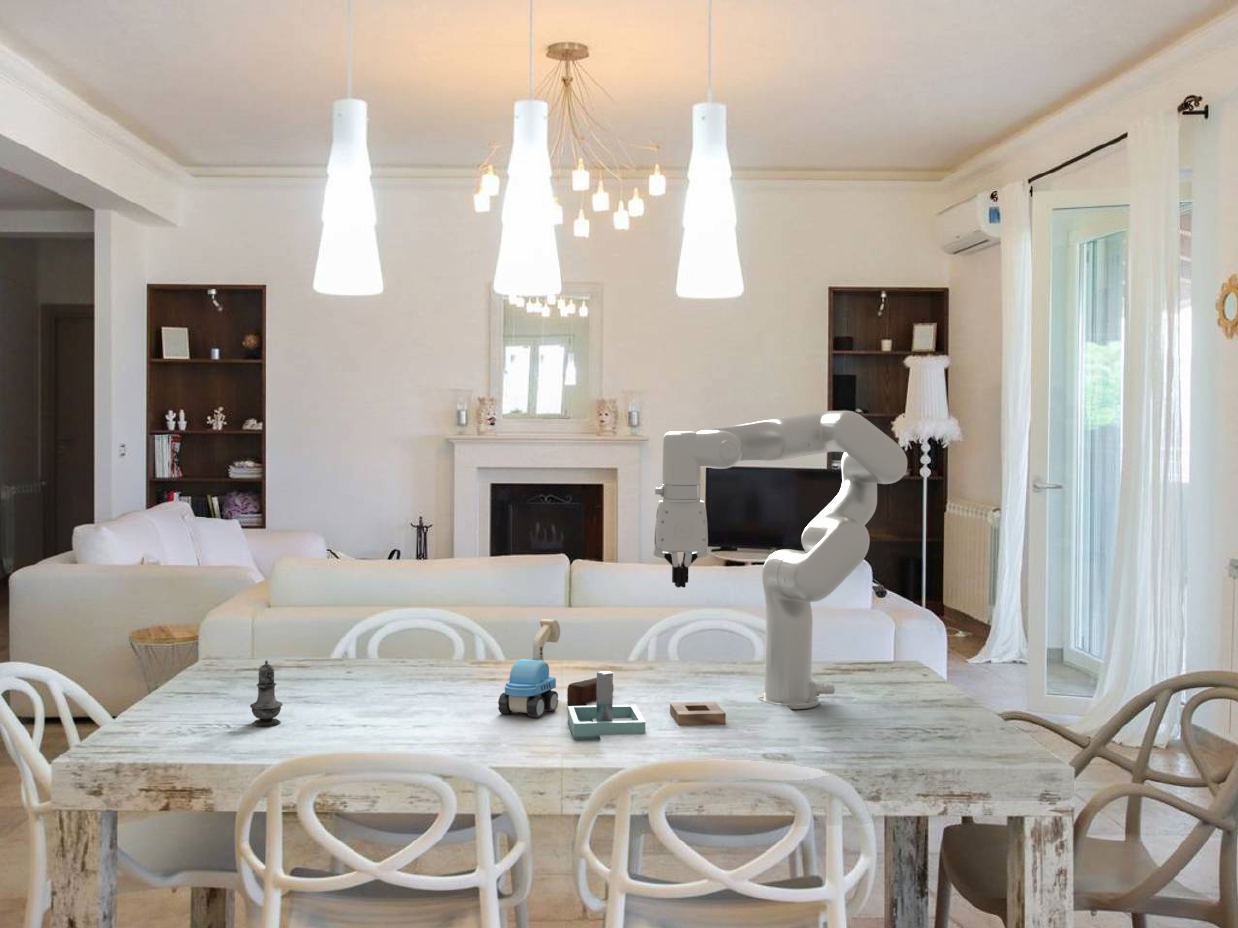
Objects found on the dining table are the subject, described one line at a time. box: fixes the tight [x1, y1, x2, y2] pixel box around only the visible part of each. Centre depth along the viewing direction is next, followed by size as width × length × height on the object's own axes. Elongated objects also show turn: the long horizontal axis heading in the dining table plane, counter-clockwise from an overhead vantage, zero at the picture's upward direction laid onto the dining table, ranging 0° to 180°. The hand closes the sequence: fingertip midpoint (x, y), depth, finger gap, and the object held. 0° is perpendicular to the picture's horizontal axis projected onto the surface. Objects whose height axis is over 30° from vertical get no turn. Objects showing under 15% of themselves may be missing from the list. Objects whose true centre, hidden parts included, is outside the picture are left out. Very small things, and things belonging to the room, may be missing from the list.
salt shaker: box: [249, 659, 283, 728], centre depth 217 cm, size 6×6×12 cm
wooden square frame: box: [669, 701, 727, 726], centre depth 221 cm, size 9×9×3 cm
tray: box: [567, 704, 646, 741], centre depth 216 cm, size 13×13×3 cm
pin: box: [595, 670, 614, 722], centre depth 216 cm, size 3×3×10 cm
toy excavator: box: [497, 618, 561, 718], centre depth 231 cm, size 9×17×17 cm, turn 155°
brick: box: [566, 677, 615, 707], centre depth 237 cm, size 11×4×5 cm, turn 143°
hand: (680, 586), depth 229 cm, fingers closed
